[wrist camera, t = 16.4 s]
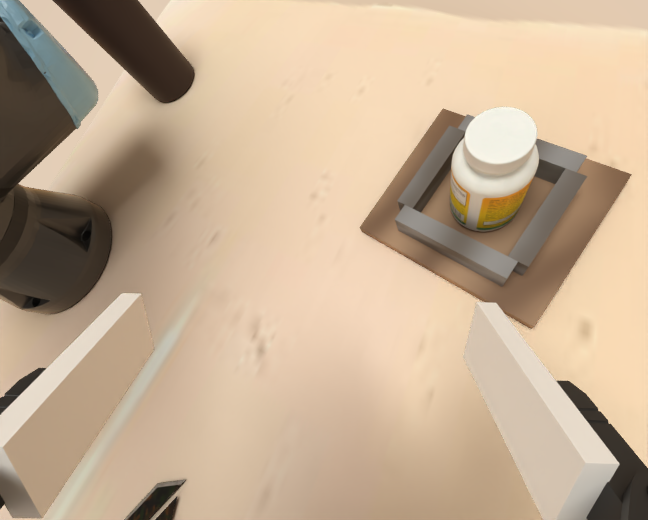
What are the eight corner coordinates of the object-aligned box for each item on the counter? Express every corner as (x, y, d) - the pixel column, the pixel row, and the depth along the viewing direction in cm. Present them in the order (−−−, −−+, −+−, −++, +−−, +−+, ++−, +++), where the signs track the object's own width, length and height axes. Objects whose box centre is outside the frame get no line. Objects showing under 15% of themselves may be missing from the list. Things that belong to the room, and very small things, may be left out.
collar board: (362, 231, 34) (353, 216, 31) (443, 115, 35) (442, 89, 32) (531, 328, 27) (542, 322, 24) (625, 180, 28) (648, 156, 25)
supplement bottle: (439, 219, 31) (436, 158, 22) (466, 168, 32) (473, 88, 23) (503, 243, 29) (527, 185, 20) (531, 187, 29) (566, 107, 21)
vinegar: (200, 60, 49) (58, -123, 31) (187, 101, 48) (29, -67, 30) (162, 66, 52) (9, -101, 34) (148, 105, 50) (-20, -48, 32)
